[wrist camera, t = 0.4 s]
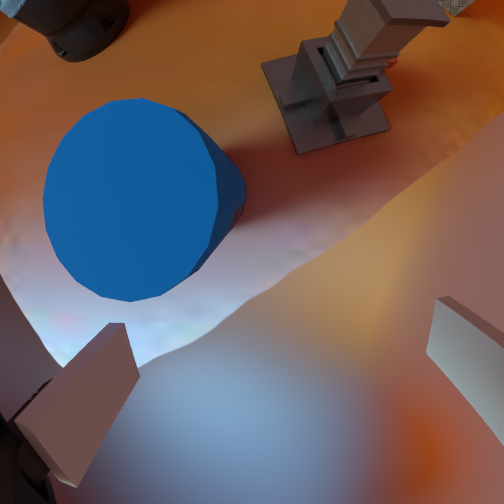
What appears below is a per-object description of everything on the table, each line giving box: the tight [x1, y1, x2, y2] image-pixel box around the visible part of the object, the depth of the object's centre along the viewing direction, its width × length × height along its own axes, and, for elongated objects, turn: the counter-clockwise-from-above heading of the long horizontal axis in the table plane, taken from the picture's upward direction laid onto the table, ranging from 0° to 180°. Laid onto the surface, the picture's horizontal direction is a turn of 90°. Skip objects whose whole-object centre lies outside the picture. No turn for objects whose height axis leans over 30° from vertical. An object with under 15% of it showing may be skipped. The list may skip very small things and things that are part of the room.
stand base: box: [261, 37, 398, 155], centre depth 27 cm, size 14×14×13 cm
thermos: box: [43, 98, 246, 302], centre depth 25 cm, size 11×11×25 cm
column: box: [320, 0, 450, 89], centre depth 21 cm, size 5×5×23 cm
